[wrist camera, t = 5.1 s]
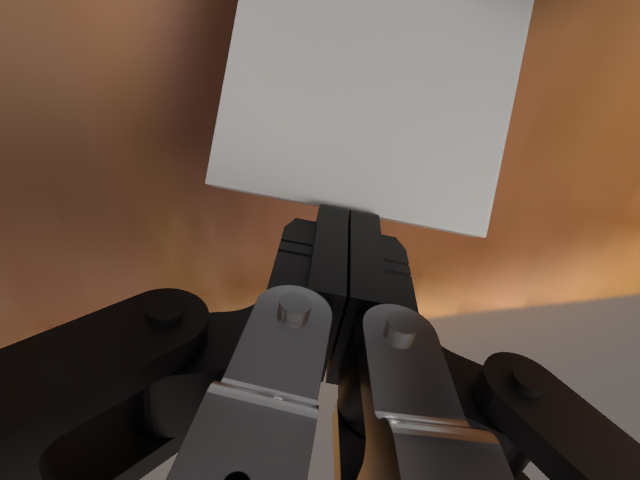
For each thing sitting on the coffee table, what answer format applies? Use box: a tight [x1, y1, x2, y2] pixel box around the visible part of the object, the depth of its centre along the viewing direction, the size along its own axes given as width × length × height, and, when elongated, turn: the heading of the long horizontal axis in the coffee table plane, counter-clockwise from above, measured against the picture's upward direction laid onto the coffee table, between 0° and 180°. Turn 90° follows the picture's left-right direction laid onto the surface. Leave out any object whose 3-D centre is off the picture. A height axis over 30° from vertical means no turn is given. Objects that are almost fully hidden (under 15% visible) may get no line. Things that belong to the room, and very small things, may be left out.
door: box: [205, 0, 534, 238], centre depth 11 cm, size 1×7×8 cm
